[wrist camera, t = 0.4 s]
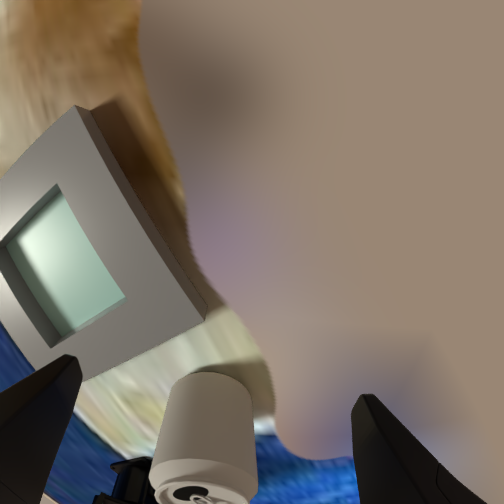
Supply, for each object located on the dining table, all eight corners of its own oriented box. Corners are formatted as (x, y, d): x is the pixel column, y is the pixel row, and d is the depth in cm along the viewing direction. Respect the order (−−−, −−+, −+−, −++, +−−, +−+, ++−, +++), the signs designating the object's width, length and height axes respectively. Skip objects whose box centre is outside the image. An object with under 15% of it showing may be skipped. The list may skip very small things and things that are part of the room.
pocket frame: (66, 379, 25) (56, 394, 23) (-27, 232, 21) (-43, 238, 18) (207, 306, 23) (204, 321, 21) (89, 110, 19) (74, 104, 17)
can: (208, 350, 25) (194, 466, 13) (268, 398, 26) (283, 506, 14) (154, 393, 26) (123, 495, 14) (213, 433, 27) (207, 532, 16)
